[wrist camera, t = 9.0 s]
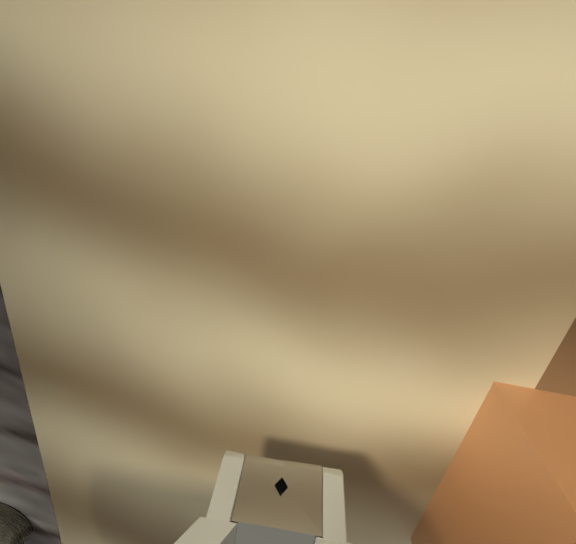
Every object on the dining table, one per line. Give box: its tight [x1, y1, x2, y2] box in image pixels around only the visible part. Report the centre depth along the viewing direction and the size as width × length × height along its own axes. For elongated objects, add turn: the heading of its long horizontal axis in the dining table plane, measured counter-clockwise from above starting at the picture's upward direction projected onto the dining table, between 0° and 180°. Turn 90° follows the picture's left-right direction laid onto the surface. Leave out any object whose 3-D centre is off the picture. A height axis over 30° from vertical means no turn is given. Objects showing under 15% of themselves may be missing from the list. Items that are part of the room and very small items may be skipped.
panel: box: [0, 0, 576, 544], centre depth 11 cm, size 26×22×1 cm
